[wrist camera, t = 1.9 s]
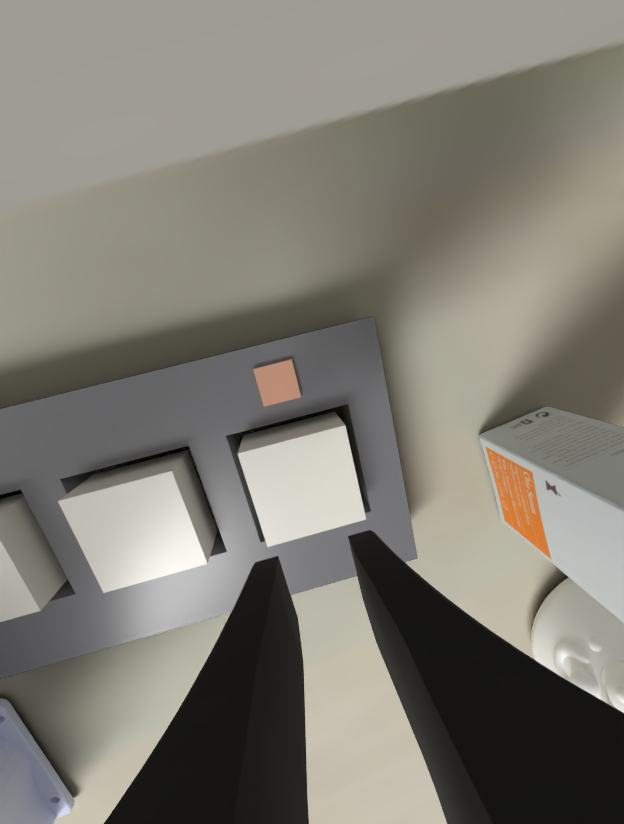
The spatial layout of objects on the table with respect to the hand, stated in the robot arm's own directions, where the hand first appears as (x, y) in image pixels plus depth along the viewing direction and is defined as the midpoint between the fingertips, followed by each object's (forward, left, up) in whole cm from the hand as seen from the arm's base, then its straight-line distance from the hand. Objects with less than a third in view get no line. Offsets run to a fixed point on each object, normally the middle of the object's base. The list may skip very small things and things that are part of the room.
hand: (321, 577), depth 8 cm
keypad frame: (0, +7, -8) cm, 11 cm away
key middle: (0, +7, -8) cm, 11 cm away
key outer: (0, 0, -7) cm, 7 cm away
